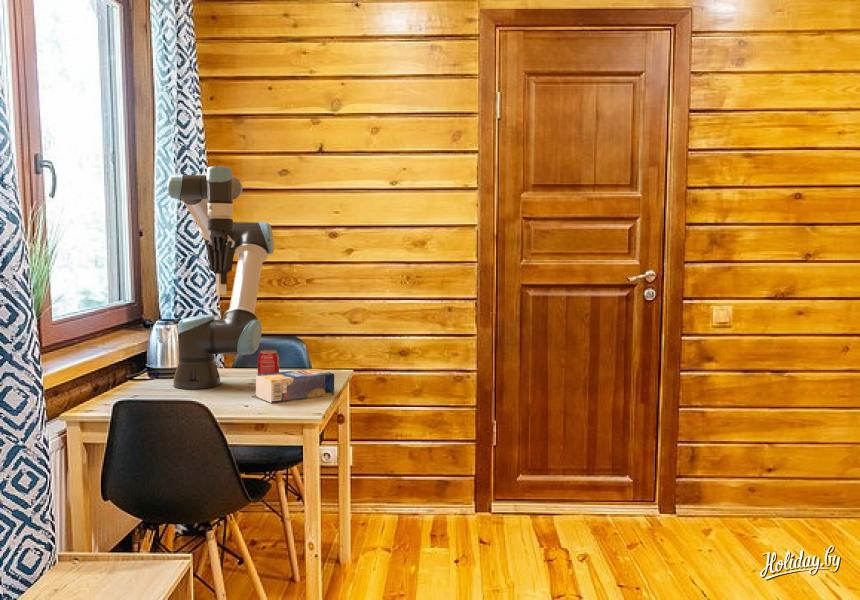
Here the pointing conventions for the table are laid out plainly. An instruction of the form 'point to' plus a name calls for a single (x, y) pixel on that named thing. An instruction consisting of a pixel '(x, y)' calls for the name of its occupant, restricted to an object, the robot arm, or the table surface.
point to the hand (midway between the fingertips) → (221, 294)
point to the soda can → (268, 362)
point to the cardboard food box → (294, 385)
